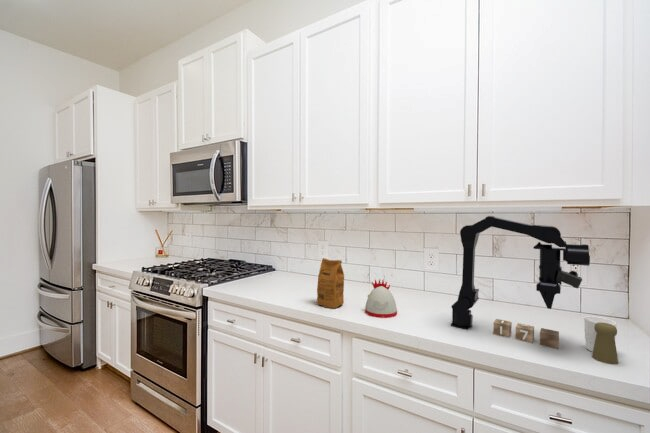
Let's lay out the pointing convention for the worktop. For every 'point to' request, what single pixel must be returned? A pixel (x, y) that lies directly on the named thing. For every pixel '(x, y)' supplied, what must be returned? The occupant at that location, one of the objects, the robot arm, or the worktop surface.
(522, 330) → the tan marked cube block
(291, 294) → the worktop surface
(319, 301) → the coffee package
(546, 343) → the plain block
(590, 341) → the white cup
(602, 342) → the cork
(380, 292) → the grey dome
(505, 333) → the block one
